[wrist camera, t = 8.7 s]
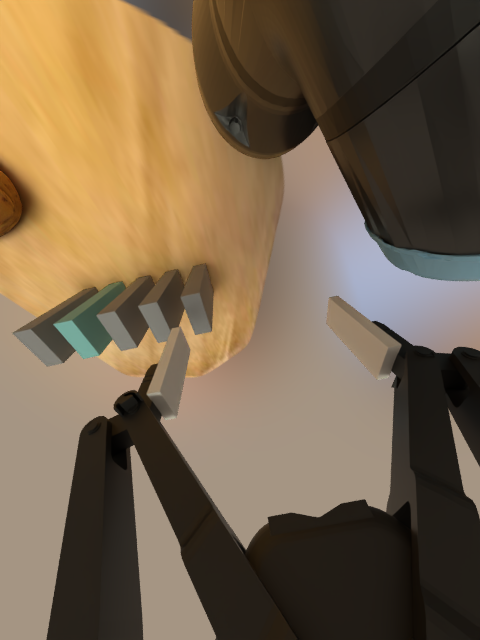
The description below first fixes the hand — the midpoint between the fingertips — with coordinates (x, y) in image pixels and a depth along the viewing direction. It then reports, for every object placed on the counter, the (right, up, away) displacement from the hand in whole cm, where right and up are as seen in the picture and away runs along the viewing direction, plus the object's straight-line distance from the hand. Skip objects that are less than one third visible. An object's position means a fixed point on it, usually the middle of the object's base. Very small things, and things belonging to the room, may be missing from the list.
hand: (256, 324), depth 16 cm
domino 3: (-7, +7, +14) cm, 18 cm away
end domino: (-25, +3, +14) cm, 29 cm away
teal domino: (-21, +4, +14) cm, 26 cm away
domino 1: (-16, +5, +14) cm, 22 cm away
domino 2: (-12, +6, +14) cm, 20 cm away
